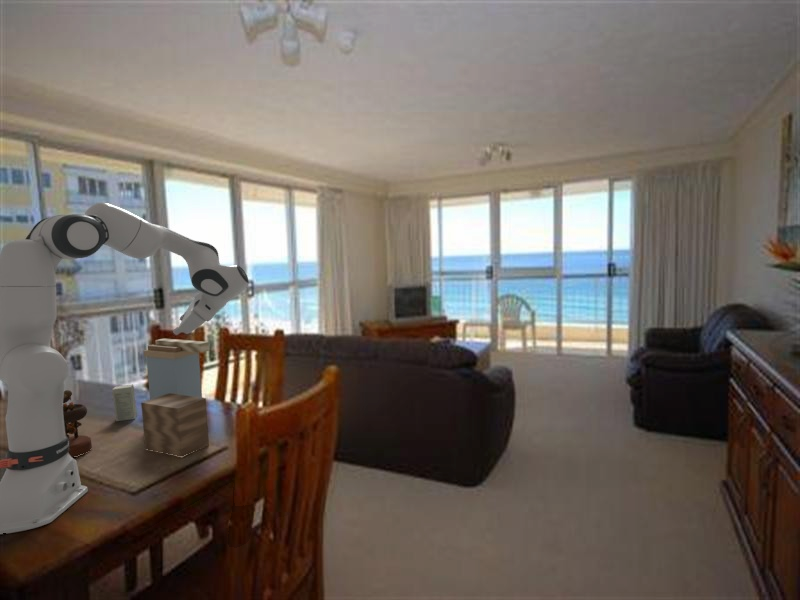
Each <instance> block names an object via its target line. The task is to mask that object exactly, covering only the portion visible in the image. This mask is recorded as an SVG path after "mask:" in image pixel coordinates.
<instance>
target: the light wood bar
mask: <svg viewBox="0 0 800 600" xmlns="http://www.w3.org/2000/svg"><path fill="white" fill-rule="evenodd" d="M155 345H164V346H175V347H181V351H187V352H198V353H199V354H200V353H201V354H202V353H205V352H209V351H210V342H209V341H202V340H201V341H200V340H188V339H174V338H160V339H155Z"/></svg>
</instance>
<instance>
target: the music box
mask: <svg viewBox="0 0 800 600" xmlns="http://www.w3.org/2000/svg"><path fill="white" fill-rule="evenodd" d="M72 395H73V393H72V391H71V390H70V389H67V390H64V397H63V416H64V426H65V436H67V437H68V441H69V452H68V453H69V454H70V456H71V457H74V456H78V455H80V454H83V453H86V452H88V451H89V450H90V449H91V448H92V449H93V446H92V438H91V437H90V436H88V435H79V431H78V428H79V427H80V426H82V423H81V422H80V421H81V420H83V419H84V418H85V417H86V416H87V414H88V409H87V407H86V406H85V405H84V404H80V403H75V404H74V402H72ZM69 401H71V402H69ZM67 402H69V404H67ZM70 435H73V436H70ZM88 453H89V452H88Z"/></svg>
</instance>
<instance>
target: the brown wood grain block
mask: <svg viewBox="0 0 800 600" xmlns="http://www.w3.org/2000/svg"><path fill="white" fill-rule="evenodd" d="M141 414H142V415H141V416H142V425H143V427H142V428H143V438H144V448H145V449H148V450H153V451H158V452H163V453H168V454H173V455H177V456H184V455H186V454H189V453H191V452H193V451H196V450H198V449H200V448H202V449H204V448H206V447H208V446H210V441H209V430H208V429H209V428H208V427H209V426H208V413H207V401H206V398H205V397H204V398H203V397H202V398H199V397H192V396H185V395H179V394H172V393H169V394H166V395H163V396H160V397H157V398H154V399H151V400H150V399H148V400H145V401H142V402H141ZM205 446H206V447H205ZM203 447H204V448H203ZM145 449H144V450H145ZM148 450H147V451H148ZM200 450H201V449H200ZM153 451H152V452H153ZM198 451H199V450H198ZM196 452H197V451H196Z"/></svg>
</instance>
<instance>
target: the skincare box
mask: <svg viewBox="0 0 800 600" xmlns="http://www.w3.org/2000/svg"><path fill="white" fill-rule="evenodd" d="M111 392H112V399H113V406H114V407H113V408H114V414H115V421H116V422H121V421H127V420H128V421H129V420H135V419H136V417H137V416H138V412H137V405H136V402H137V401H136V397H135V395H136V394H135V386H134V384H133V383H132V384H124V385H116V386H114V387H113V388H112V389H111Z"/></svg>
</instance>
